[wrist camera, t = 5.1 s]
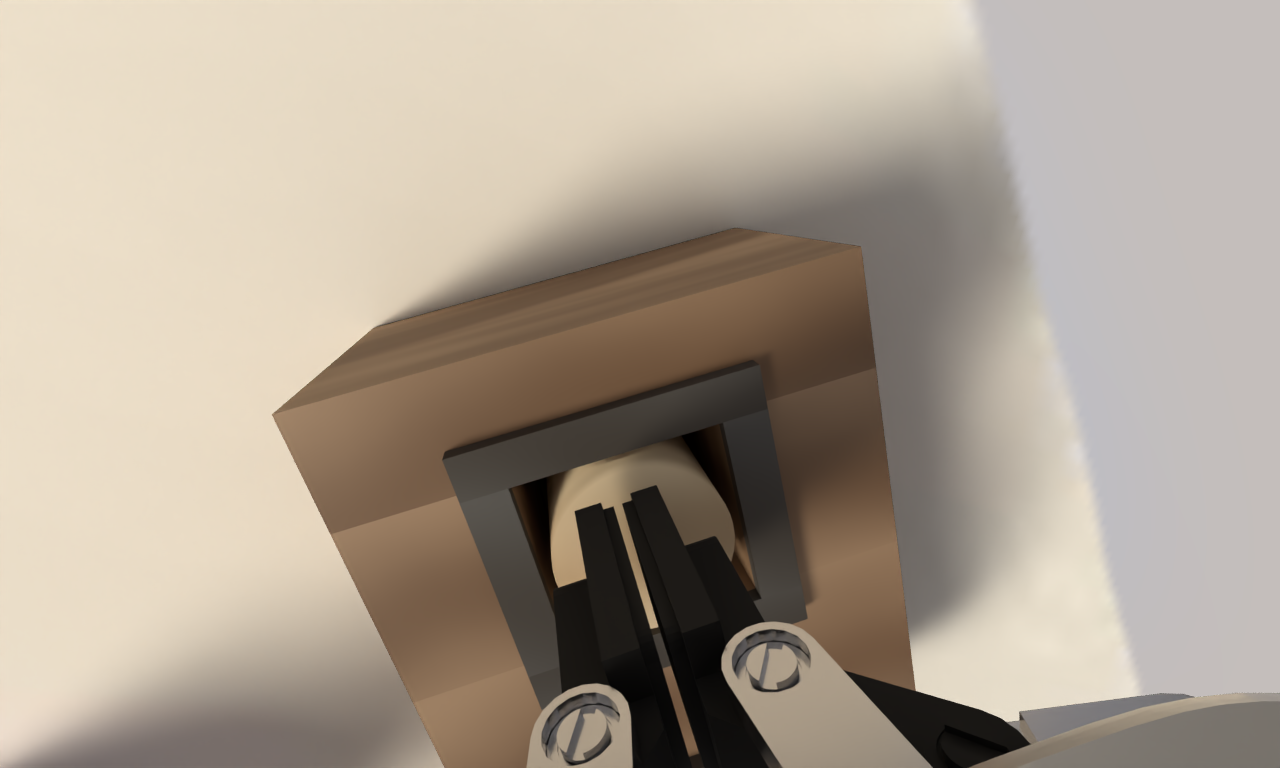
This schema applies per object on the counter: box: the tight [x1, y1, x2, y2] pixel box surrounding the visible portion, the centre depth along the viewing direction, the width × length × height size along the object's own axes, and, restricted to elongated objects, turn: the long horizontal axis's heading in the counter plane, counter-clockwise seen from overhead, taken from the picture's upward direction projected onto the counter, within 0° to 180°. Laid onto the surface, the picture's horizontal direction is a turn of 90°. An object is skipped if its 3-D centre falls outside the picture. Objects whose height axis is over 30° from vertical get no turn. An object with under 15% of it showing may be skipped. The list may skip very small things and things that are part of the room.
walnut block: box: [272, 228, 916, 768], centre depth 19 cm, size 20×12×8 cm, turn 14°
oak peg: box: [546, 436, 735, 629], centre depth 17 cm, size 4×4×8 cm
